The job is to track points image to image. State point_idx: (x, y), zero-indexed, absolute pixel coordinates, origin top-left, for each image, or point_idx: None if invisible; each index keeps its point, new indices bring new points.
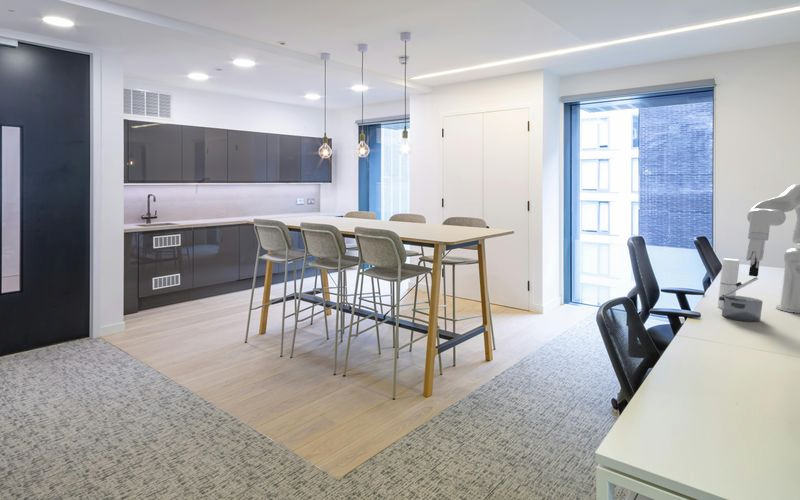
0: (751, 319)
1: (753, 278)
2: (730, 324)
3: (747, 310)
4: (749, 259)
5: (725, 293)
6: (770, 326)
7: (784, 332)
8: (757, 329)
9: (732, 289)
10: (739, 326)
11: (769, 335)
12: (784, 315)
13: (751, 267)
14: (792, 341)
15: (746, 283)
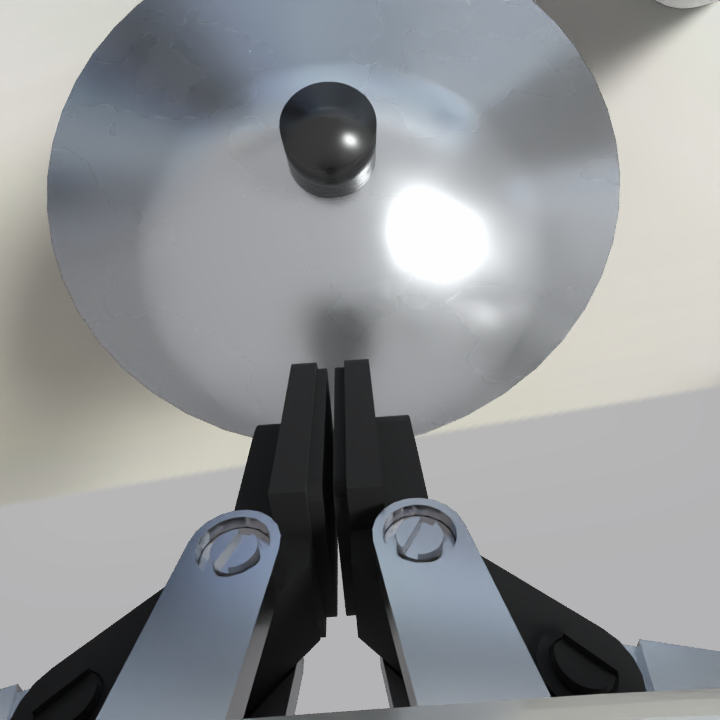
0: None
1: (279, 414)
2: (24, 181)
3: None
4: (565, 701)
5: (142, 10)
6: None
7: (172, 444)
8: (82, 340)
9: (58, 129)
10: (35, 244)
11: (9, 414)
12: (685, 351)
13: (274, 524)
14: (14, 500)
15: (101, 333)
